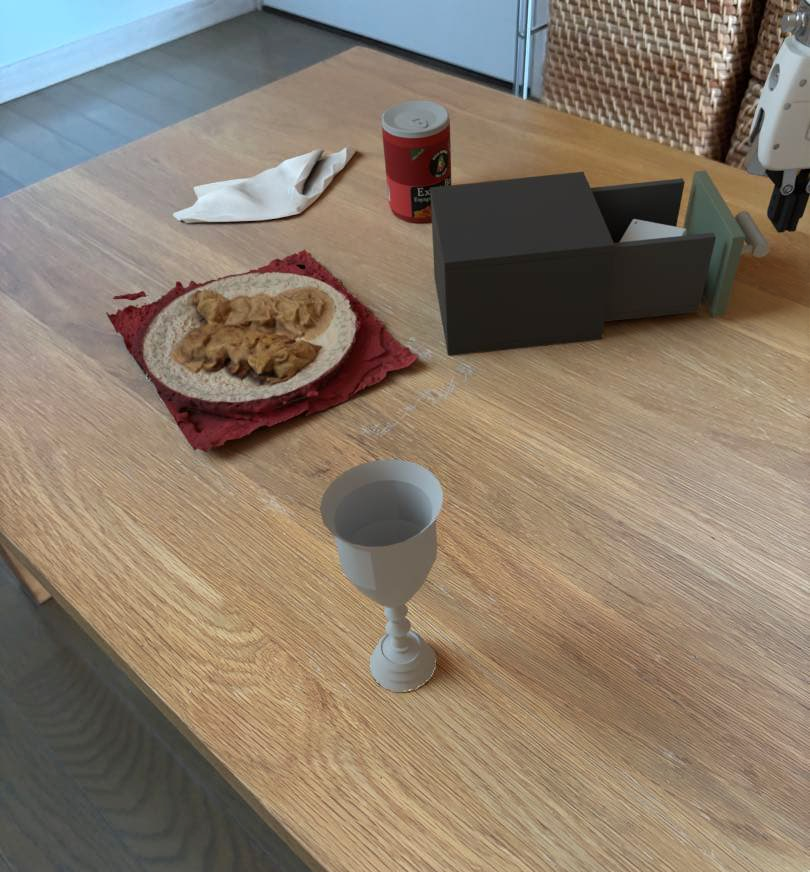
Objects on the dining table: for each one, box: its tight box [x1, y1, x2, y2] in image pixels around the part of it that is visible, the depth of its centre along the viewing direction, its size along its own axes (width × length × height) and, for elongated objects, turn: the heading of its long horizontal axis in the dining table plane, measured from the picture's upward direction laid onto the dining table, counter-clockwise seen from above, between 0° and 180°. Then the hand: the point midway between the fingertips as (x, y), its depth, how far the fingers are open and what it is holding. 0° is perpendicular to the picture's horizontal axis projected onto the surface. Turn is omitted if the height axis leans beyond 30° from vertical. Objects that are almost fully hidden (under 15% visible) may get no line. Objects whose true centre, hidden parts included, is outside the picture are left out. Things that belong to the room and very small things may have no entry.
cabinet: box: [430, 171, 615, 356], centre depth 87 cm, size 16×14×11 cm
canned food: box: [381, 100, 452, 224], centre depth 101 cm, size 8×8×11 cm
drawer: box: [590, 170, 771, 322], centre depth 87 cm, size 19×12×9 cm, turn 94°
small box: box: [620, 219, 687, 242], centre depth 87 cm, size 6×6×5 cm
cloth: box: [172, 146, 358, 224], centre depth 109 cm, size 26×14×2 cm, turn 113°
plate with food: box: [105, 248, 418, 453], centre depth 88 cm, size 24×26×3 cm
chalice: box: [319, 458, 444, 692], centre depth 57 cm, size 7×7×18 cm
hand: (781, 224), depth 86 cm, fingers closed
